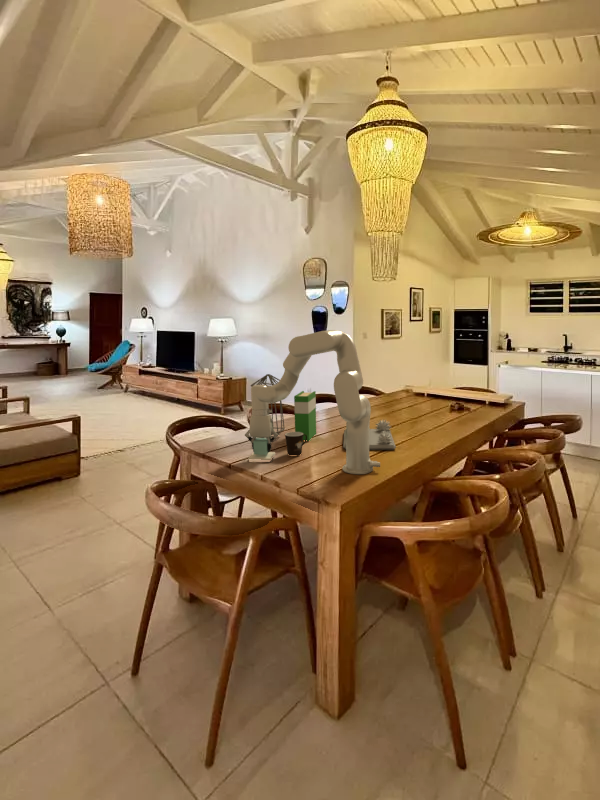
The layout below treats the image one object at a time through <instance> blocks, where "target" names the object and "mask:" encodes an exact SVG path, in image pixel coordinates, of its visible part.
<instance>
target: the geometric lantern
mask: <svg viewBox="0 0 600 800" xmlns="http://www.w3.org/2000/svg"><path fill="white" fill-rule="evenodd" d="M268 379H269V381H270V383H269V382H268V383H267V380H268ZM279 381H280V379H279V378H278V377H276V376H273V375H272V374H270V373H267V374H265V375H264V376H262V377H261V378H260V379H257V381H255V382H253V383H252V384H251V385H250V388H251V387H252V386H254V385H266V386H267V387H269V386H272V385H276V384H278V382H279ZM282 401H283V400H281V401H279V406H280V407H279V410H280V426H281V427H279V426H278V416H277V415H278V414H277V405H276V403H277V402H276V403H274V412H275V423H276V427H274V416H273V415H274V413H273V403H270V407H271V408H270V410H272V413H271V419H272V425H273V430H274V431H275V430H276V431H275V432H276V433H277V434H278V435H280V434H281V433H283V432H284V431H285V421H284V412H283V403H282ZM279 429H280V430H279ZM273 436H274V435H271V438H272V437H273Z"/></svg>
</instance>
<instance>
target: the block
mask: <svg viewBox="0 0 600 800" xmlns="http://www.w3.org/2000/svg"><path fill="white" fill-rule="evenodd" d="M267 444H268V441H267V439H266V438H261V437H256V439H255V440H254V441H253V445H254V454H260V455H267V454H268V453H269V452H268V450H267Z"/></svg>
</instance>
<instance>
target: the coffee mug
mask: <svg viewBox="0 0 600 800" xmlns="http://www.w3.org/2000/svg"><path fill="white" fill-rule="evenodd" d="M304 435H305V434H303V433H301V432H295V431H290V432H286V433H284V437H285V445H286V451H287V455H288V454H289V455H300V454H301V453H302V452H303V446H304V445H305V443H307V442H306V440H307V435H305V436H306V440H305V442H303V436H304ZM301 455H302V454H301Z"/></svg>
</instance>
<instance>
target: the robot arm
mask: <svg viewBox="0 0 600 800" xmlns="http://www.w3.org/2000/svg"><path fill="white" fill-rule="evenodd" d="M356 347H357V346H356V344H355V341H354V340H353V338H352V337H351V336H350V335H349V334H347V333H346V332H343V331H341V330H335V329H330V330H329V329H328V330H321V331H317V332H313V333H308V334H303V335H297V336H295V337H293V338H292V339H291V340H290V341H289V343H288V354H287V356H286V357H285V358H284V361H283V362H282V367H283V369H284V372H283V374H282V376H281V378H280V379H279V380H280V381H279V380H278V381H277V382H278V384H276V385H268V386H269V387H267V386H266V385H267V384H266V385H264V384H262V385H261V384H260V385H257V384H255V385H254V386H252V387H251V386H250V394H251V395H250V399H251V415H250V418H249V430H248V431H246V433H245V434H244V436H245V437H246V438H247V440H249V441H250V443H251V449H252V453H253V452H254V445H253V441H254V440H255V439H256V438H266V439H267V441H268V444H267V450H268V452H271V450H272V442H274V441H273V440H274V439H275V440H276V439H277V438H278V437H277V436H278V434H277V433H276V432H277V431H275V429H274V428H273V427H274V424H273V425H272V411H273V409H272V410H271V409H270V408H269V406H270V405H269V404H271V403H272V404H275V403H278V402H280V401H283V400H285V399H287V398H288V397H289V395H290V394H291V392H292V391H293V390H294V388H295V387H296V385H297V384H298V380H299V377H300V374H301V373H302V370H304V368H305V367H306V364H308V362H309V360H310V359H311V358H312V356H314V355H320V354H325V353H330V352H335V353H336V361H337V362H336V363H337V366H338V370H339V373H338V374H336V376H335V377H334V380H333V391H334V395H335V399H336V406H337V409H338V413H339V415H340V418H341V419H342V420H343V421H345V422H346V424H345V426H346V427H345V430H346V449H345V453H346V454H345V457H346V458H345V459H346V460H345V461H346V464H344V465H342V471H343V472H344V473H346V474H351V475H366V474H370V473H371V472H373V471H374V468H375V467H376V468H380V467H381V462H379V461H377V460H371V457H370V450H369V429H370V421H371V412H372V409H371V408H372V407H371V406H372V405H371V402H370V400H369V399H368V397H367V396H365V395H363V394H360V393H359V391H360V390H361V389H362V387H363V385H364V378H363V374H362V370H361V365H360V361H359V360H360V359H359V356H358V352H357V348H356ZM273 429H274V430H273ZM271 436H273V437H271Z"/></svg>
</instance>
